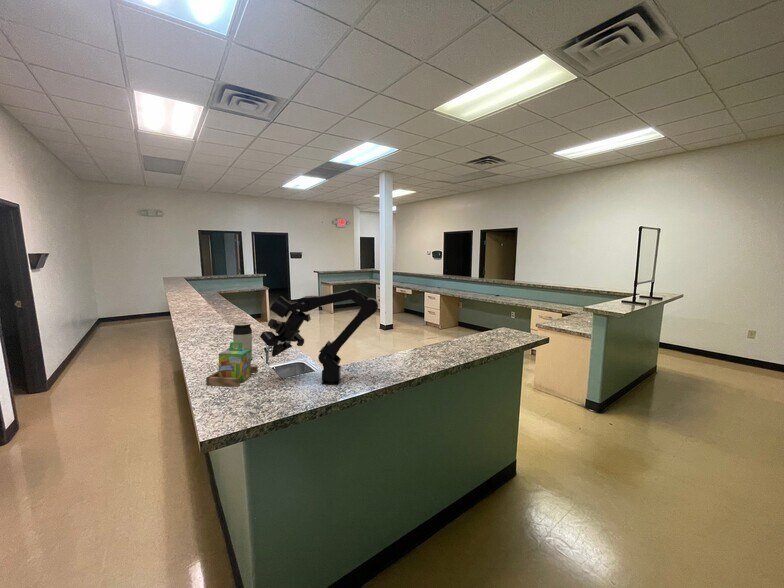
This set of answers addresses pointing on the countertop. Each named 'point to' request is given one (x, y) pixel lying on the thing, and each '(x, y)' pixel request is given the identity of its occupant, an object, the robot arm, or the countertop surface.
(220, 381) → the block
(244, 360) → the chalk box
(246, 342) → the travel mug
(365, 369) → the countertop surface
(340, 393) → the countertop surface
